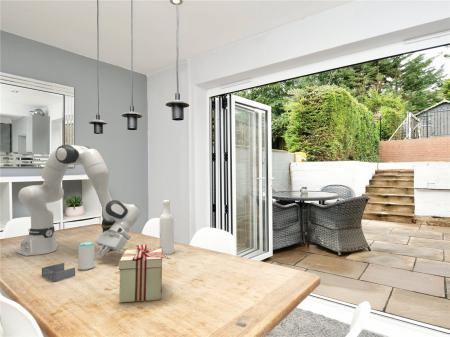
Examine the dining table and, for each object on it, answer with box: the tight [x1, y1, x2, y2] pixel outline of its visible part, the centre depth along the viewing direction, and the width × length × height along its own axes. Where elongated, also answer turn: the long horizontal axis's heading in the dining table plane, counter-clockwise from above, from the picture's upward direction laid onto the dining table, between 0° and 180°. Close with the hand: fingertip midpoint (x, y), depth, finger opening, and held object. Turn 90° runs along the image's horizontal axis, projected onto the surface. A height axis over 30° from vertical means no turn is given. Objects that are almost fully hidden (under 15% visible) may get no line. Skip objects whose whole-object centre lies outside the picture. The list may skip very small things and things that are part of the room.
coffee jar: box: [101, 219, 114, 252], centre depth 167 cm, size 10×8×19 cm
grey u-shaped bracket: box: [41, 262, 76, 283], centre depth 125 cm, size 9×12×4 cm
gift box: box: [118, 243, 171, 303], centre depth 108 cm, size 17×18×17 cm
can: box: [77, 241, 96, 271], centre depth 135 cm, size 7×7×12 cm
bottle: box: [159, 199, 175, 256], centre depth 159 cm, size 8×8×30 cm
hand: (100, 254), depth 140 cm, fingers closed
